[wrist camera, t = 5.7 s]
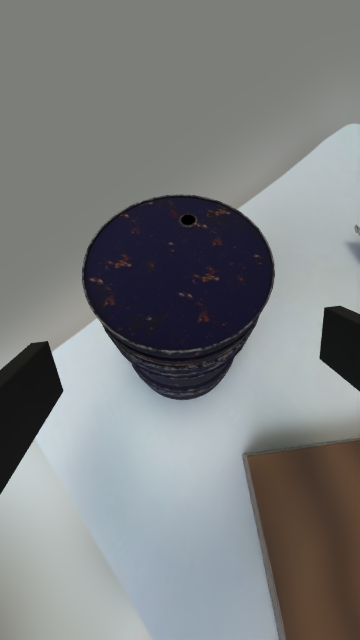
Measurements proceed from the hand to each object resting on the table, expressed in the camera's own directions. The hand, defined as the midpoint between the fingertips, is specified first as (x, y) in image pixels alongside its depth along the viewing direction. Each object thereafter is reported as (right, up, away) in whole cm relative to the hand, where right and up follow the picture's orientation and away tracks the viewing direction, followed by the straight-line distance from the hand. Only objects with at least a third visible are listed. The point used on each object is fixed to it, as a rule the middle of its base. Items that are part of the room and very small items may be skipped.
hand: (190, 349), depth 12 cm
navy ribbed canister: (0, -2, +14) cm, 14 cm away
